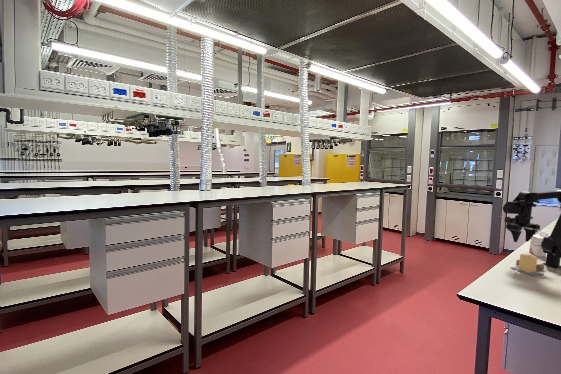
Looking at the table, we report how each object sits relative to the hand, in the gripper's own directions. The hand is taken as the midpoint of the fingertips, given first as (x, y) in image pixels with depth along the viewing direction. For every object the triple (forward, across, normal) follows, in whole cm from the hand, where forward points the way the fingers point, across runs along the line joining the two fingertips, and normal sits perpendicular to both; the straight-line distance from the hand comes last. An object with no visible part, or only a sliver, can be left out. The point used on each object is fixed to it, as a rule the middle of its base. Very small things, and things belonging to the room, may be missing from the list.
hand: (521, 241), depth 166 cm
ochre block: (+12, +8, +10) cm, 18 cm away
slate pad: (+13, +8, +10) cm, 18 cm away
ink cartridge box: (+13, -33, -11) cm, 37 cm away
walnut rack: (+13, -1, +5) cm, 14 cm away
